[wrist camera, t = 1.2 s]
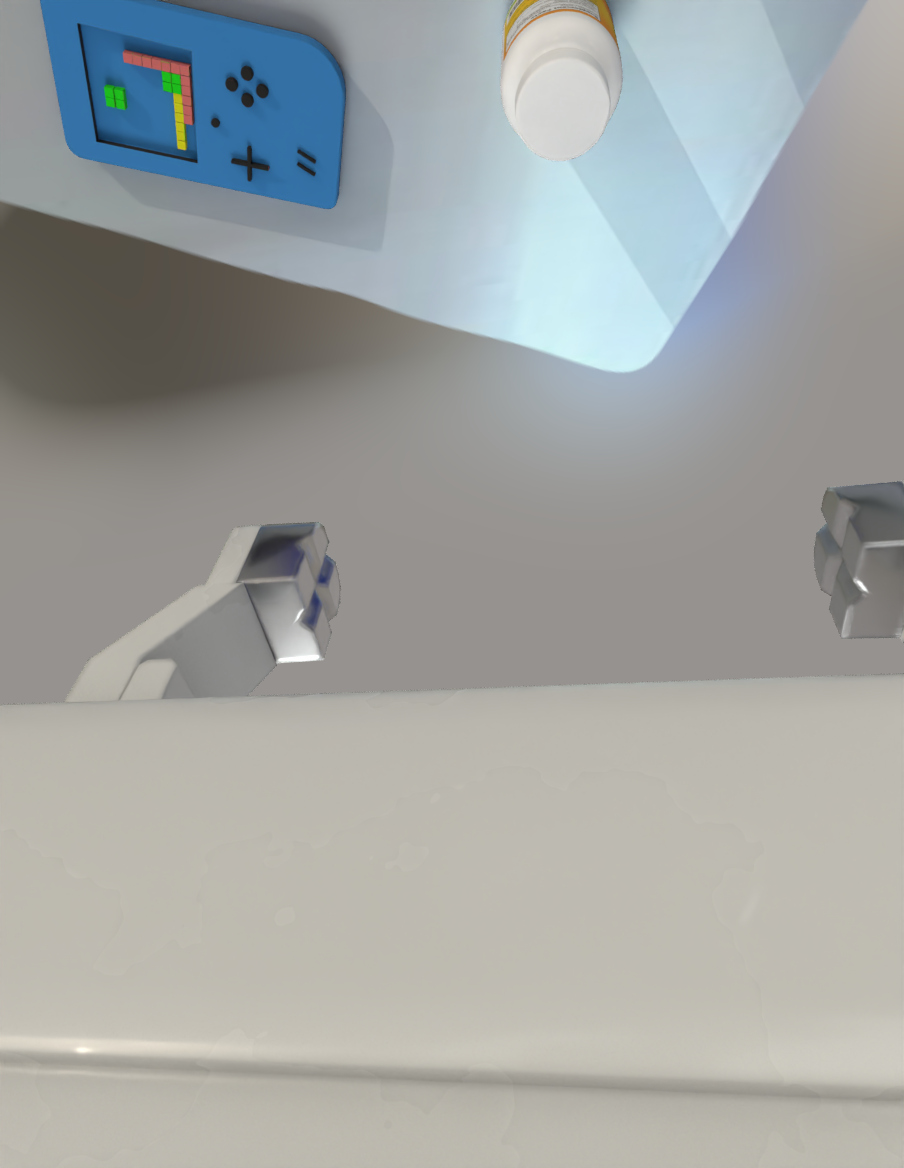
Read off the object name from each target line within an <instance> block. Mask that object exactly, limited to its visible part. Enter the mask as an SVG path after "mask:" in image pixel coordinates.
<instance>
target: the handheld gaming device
mask: <svg viewBox="0 0 904 1168" xmlns="http://www.w3.org/2000/svg"><path fill="white" fill-rule="evenodd" d="M40 3H41V8H42V14H43V19H44V25H45V30H46V36H47V41H48V46H49V52H50V57H51V63H52V68H53V74H54V79H55V85H56V90H57V96H58V101H59V106H60V112H61V117H62V123H63V128H64V134H65V139H66V143H67V145H68V147H69V149H70V150H71V151H72V152H73V153H74V154H75V155H77V156H78V157H81V158H84V159H89V160H93V161H98V162H103V163H108V164H113V165H117V166H122V167H127V168H132V169H137V170H141V171H146V172H151V173H156V174H161V175H165V176H170V177H175V178H180V179H185V180H190V181H194V182H199V183H204V184H209V185H214V186H218V187H223V188H228V189H233V190H238V191H242V192H247V193H252V194H257V195H262V196H267V197H271V198H276V199H281V200H286V201H291V202H295V203H300V204H305V205H310V206H315V207H319V208H324V209H331V208H333V207H334V206H335V205H336V203H337V199H338V195H339V182H340V168H341V155H342V141H343V127H344V114H345V100H346V89H345V82H344V78H343V75H342V72H341V70H340V67H339V65H338V63H337V62H336V60H335V58H334V57H333V56H332V54H331V53H330V52H329V51H328V50H327V49H326V48H325V47H324V46H323V45H322V44H321V43H319V42H318V41H316V40H315V39H313V38H311V37H309V36H306V35H303V34H300V33H296V32H291V31H287V30H283V29H278V28H274V27H270V26H265V25H261V24H257V23H252V22H248V21H244V20H239V19H235V18H231V17H226V16H222V15H218V14H213V13H209V12H205V11H200V10H196V9H192V8H187V7H183V6H179V5H174V4H170V3H166V2H161V1H157V0H40Z"/></svg>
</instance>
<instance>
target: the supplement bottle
mask: <svg viewBox="0 0 904 1168" xmlns="http://www.w3.org/2000/svg"><path fill="white" fill-rule="evenodd" d="M622 80H623V78H622V62H621V57H620V52H619V48H618V43H617V39H616V34H615V30H614V25H613V21H612V17H611V13H610V10H609V7H608V4H607V2H606V0H514V1H513V3H512V5H511V7H510V9H509V11H508V13H507V16H506V19H505V23H504V28H503V36H502V61H501V82H500V86H501V99H502V104H503V108H504V111H505V114H506V116H507V119H508V121H509V122H510V124H511V126H512V127H513V129H514V130H515V131H516V132H517V134H518V135H519V136H520V137H521V138H522V140H523V141H524V143H525V144H526V145H527V147H528V148H529V149H530V150H531V151H533V152H534V153H535V154H537V155H539V156H540V157H543V158H545V159H548V160H554V161H565V160H570V159H573V158H576V157H578V156H580V155H582V154H584V153H585V152H587V151H588V150H589V149H590V148H592V147H593V146H594V145H595V143H596V142H597V141H598V140H599V139H600V137H601V136H602V134H603V132H604V130H605V128H606V125H607V123H608V121H609V120H610V118H611V116H612V115H613V113H614V111H615V109H616V106H617V104H618V101H619V97H620V94H621V89H622Z"/></svg>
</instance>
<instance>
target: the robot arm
mask: <svg viewBox="0 0 904 1168" xmlns="http://www.w3.org/2000/svg"><path fill="white" fill-rule="evenodd" d="M821 511H822V513H823V516H824V518H825V520H826V522H827V523H826V524H825V525H824V527H822V528H821V529H820V530H819V531H818V532H817V534H816V541H815V547H814V566H815V572H816V577H817V580H818V583H819V585H820V588H821V590H822V591H824V592H825V593H827V594H828V595H830V596H832V597H831V602H830V607H829V610H830V613H831V615H832V617H833V620H834V622H835V625H836V627H837V629H838V632H839V634H840V637H841V638H842V639H852V638H901V639H900V640H901V641H902V642H903V643H904V481H897V482H892V483H891V482H890V483H878V484H866V485H854V486H842V487H829V488H827V490H826V492H825V494H824V498H823V502H822V508H821ZM328 544H329V540H328V537H327V534H326V531H325V528H324V526H323V525H322V524H321V523H319V522H310V523H293V524H292V523H290V524H269V525H252V526H238V527H236V528H235V529H233V530H232V531H231V533H230V535H229V538H228V539H227V541H226V543H225V545H224V548H223V549H222V552H221V554H220V556H219V558H218V560H217V562H216V564H215V566H214V568H213V570H212V572H211V574H210V576H209V578H208V580H207V582H206V584H205V585H197V586H195V587H194V588H192V589H191V590H190V591H188V592H187V593H186V594H184V595H182V596H181V597H179V598H178V599H177V600H175V601H174V602H172V603H171V604H169V605H168V606H166V607H165V608H163V609H162V610H161V611H159V612H158V613H156V614H155V615H153V616H152V617H151V618H149V619H147V620H146V621H144V622H143V623H142V624H140V625H139V626H137V627H136V628H134V629H133V630H131V631H130V632H129V633H127V634H126V635H124V636H123V637H121V638H120V639H118V640H117V641H116V642H114V643H113V644H111V645H110V646H108V647H107V648H105V649H104V650H102V651H101V652H100V653H98V654H97V655H95V656H94V657H92V658H91V659H89V660H88V662H87V663H86V665H85V667H84V668H83V670H82V672H81V673H80V675H79V677H78V678H77V680H76V682H75V684H74V685H73V687H72V689H71V690H70V692H69V694H68V695H67V697H66V699H65V701H64V702H61V703H60V702H59V703H31V704H1V705H0V1168H904V673H903V674H874V675H845V676H815V677H789V678H787V677H786V678H761V679H760V678H758V679H729V680H701V681H671V682H642V683H613V684H583V685H554V686H528V687H527V686H525V687H498V688H497V687H496V688H467V689H441V690H439V689H437V690H410V691H409V690H408V691H380V692H350V693H320V694H293V695H263V696H248V695H249V693H251V692H252V691H253V690H254V689H255V688H256V687H257V686H258V685H259V684H260V683H261V682H262V680H263V679H264V678H265V677H266V676H267V675H268V674H269V673H270V672H271V671H272V670H273V669H274V668H275V667H276V666H277V664H276V663H285V662H300V661H315V660H324V658H325V654H326V651H327V647H328V644H329V641H330V637H331V634H332V631H331V629H330V625H329V621H330V620H331V619H332V618H333V617H334V616H336V615H337V612H338V608H339V604H340V589H341V588H340V587H341V586H340V579H339V573H338V570H337V566H336V563H335V562H334V561H333V560H332V559H331V558H330V557H328V556H327V555H326V550H327V547H328Z"/></svg>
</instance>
